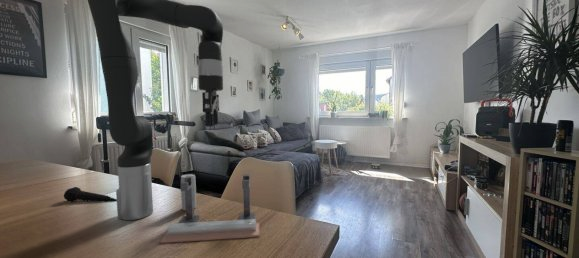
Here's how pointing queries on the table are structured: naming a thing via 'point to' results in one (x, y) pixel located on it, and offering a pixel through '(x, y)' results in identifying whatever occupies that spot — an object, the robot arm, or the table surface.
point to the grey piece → (184, 191)
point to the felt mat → (211, 236)
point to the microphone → (85, 195)
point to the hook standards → (189, 200)
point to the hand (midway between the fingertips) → (212, 125)
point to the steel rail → (211, 227)
